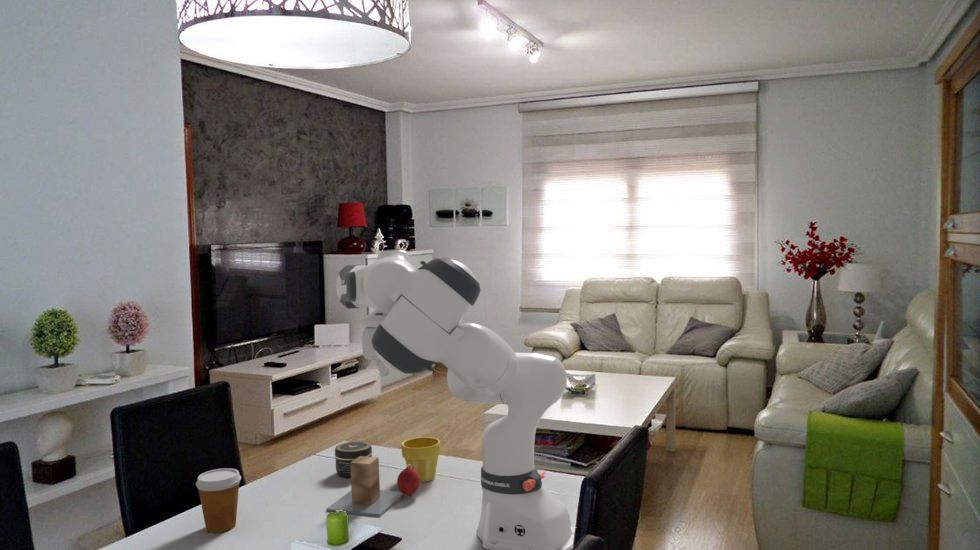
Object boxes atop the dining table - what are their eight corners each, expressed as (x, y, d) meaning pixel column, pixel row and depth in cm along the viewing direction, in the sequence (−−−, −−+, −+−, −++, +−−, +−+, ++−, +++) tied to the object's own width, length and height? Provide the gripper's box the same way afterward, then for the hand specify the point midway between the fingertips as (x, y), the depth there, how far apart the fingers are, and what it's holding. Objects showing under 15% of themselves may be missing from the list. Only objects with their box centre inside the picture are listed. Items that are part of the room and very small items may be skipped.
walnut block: (380, 497, 168) (378, 457, 168) (371, 505, 163) (369, 463, 163) (361, 495, 169) (359, 456, 169) (352, 503, 165) (350, 462, 164)
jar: (368, 479, 183) (367, 451, 183) (331, 480, 183) (330, 452, 183) (375, 466, 193) (374, 440, 193) (340, 467, 193) (339, 440, 193)
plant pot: (396, 476, 184) (394, 441, 184) (430, 469, 190) (429, 434, 189) (413, 488, 176) (412, 450, 175) (448, 479, 181) (447, 443, 181)
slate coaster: (405, 494, 171) (405, 492, 171) (380, 516, 158) (380, 514, 158) (355, 489, 175) (355, 487, 175) (326, 511, 162) (326, 508, 162)
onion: (416, 501, 166) (416, 469, 166) (393, 500, 167) (393, 467, 167) (423, 492, 172) (423, 461, 172) (401, 491, 173) (401, 460, 173)
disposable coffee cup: (216, 539, 148) (213, 485, 147) (189, 530, 153) (186, 477, 152) (252, 523, 156) (250, 471, 155) (225, 515, 161) (223, 465, 160)
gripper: (412, 311, 178) (413, 364, 179) (356, 320, 161) (359, 378, 161) (431, 312, 174) (433, 366, 175) (377, 321, 157) (379, 381, 158)
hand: (397, 372), depth 168 cm, fingers open, 8 cm apart
